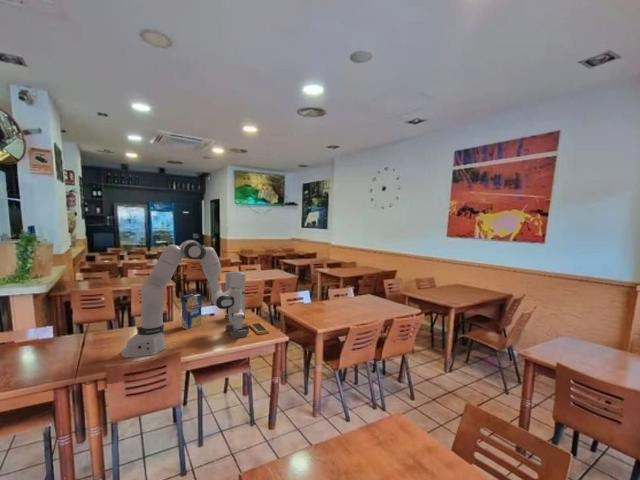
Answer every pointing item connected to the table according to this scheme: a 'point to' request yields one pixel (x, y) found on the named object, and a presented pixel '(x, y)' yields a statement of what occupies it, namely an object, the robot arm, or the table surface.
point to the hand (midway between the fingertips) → (234, 331)
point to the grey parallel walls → (236, 332)
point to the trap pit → (258, 328)
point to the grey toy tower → (236, 281)
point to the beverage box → (191, 311)
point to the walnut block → (245, 327)
